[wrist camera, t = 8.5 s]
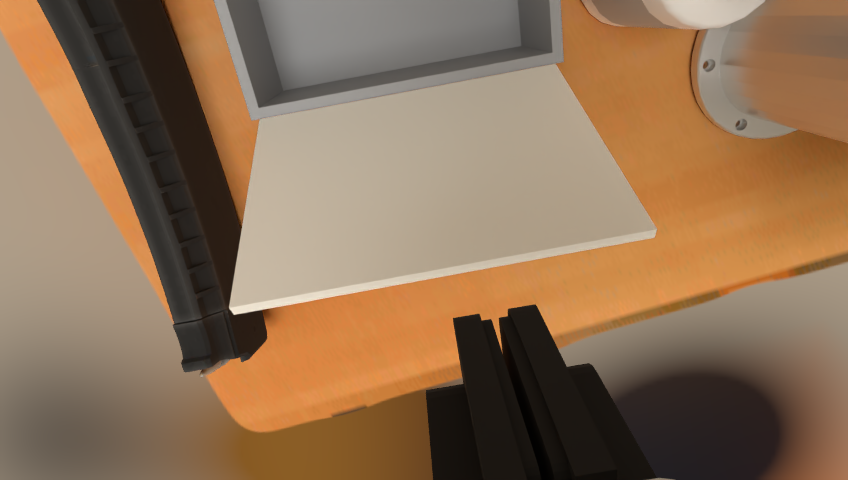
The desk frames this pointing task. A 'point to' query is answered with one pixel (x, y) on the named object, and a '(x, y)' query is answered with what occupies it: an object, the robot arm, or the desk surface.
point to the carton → (379, 46)
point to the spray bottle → (671, 12)
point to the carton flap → (427, 189)
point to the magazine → (163, 166)
